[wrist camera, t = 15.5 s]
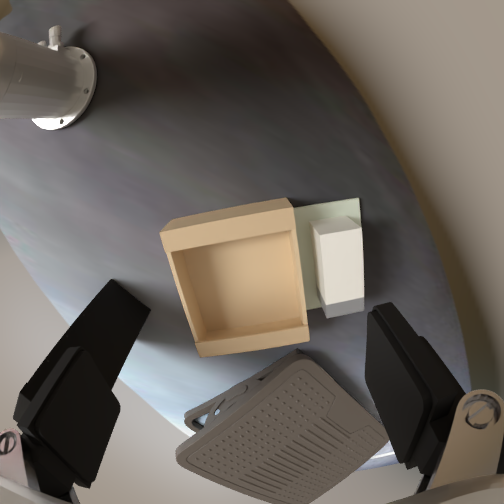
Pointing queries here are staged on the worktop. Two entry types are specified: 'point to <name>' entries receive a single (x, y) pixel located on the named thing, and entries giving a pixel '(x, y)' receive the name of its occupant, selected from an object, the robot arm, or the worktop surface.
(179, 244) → the carton
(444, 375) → the robot arm
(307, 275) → the mat
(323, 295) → the capped box
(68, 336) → the tissue box
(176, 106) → the worktop surface
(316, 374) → the foot rest
